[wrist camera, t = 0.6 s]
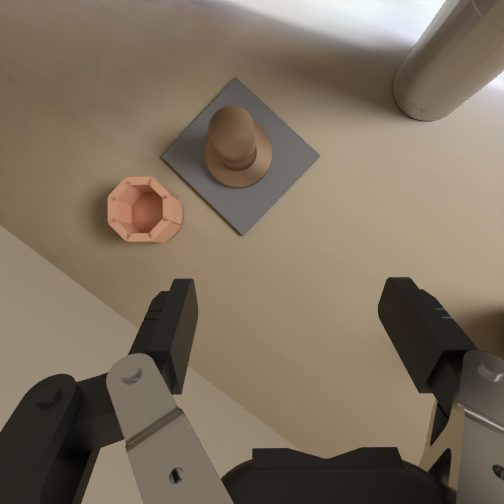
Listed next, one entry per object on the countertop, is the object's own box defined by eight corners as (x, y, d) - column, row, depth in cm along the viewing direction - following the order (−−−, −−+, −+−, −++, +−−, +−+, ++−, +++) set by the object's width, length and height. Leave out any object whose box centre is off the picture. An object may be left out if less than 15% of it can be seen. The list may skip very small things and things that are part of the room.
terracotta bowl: (155, 175, 39) (138, 163, 34) (195, 214, 38) (184, 207, 33) (117, 216, 39) (94, 210, 34) (156, 255, 39) (139, 254, 34)
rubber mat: (236, 80, 38) (235, 77, 38) (319, 157, 38) (320, 155, 37) (162, 158, 39) (160, 156, 38) (243, 235, 38) (242, 235, 37)
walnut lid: (238, 110, 38) (230, 70, 30) (285, 154, 37) (290, 125, 29) (193, 157, 38) (173, 131, 30) (239, 202, 37) (231, 187, 30)
